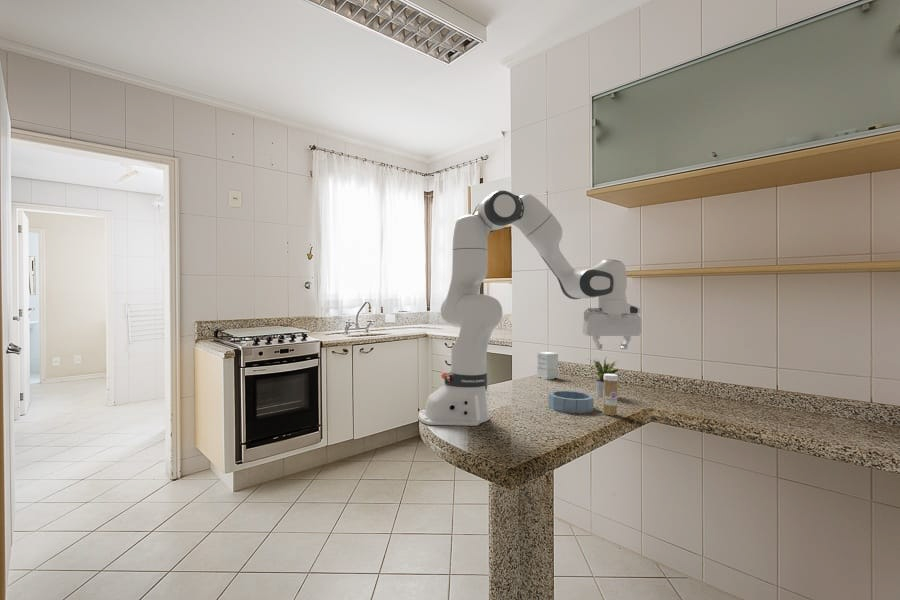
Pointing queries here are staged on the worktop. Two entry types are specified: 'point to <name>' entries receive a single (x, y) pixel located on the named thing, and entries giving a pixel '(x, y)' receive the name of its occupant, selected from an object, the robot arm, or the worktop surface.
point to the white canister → (547, 365)
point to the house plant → (601, 374)
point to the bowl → (571, 401)
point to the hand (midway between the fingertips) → (611, 349)
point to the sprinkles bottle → (610, 394)
